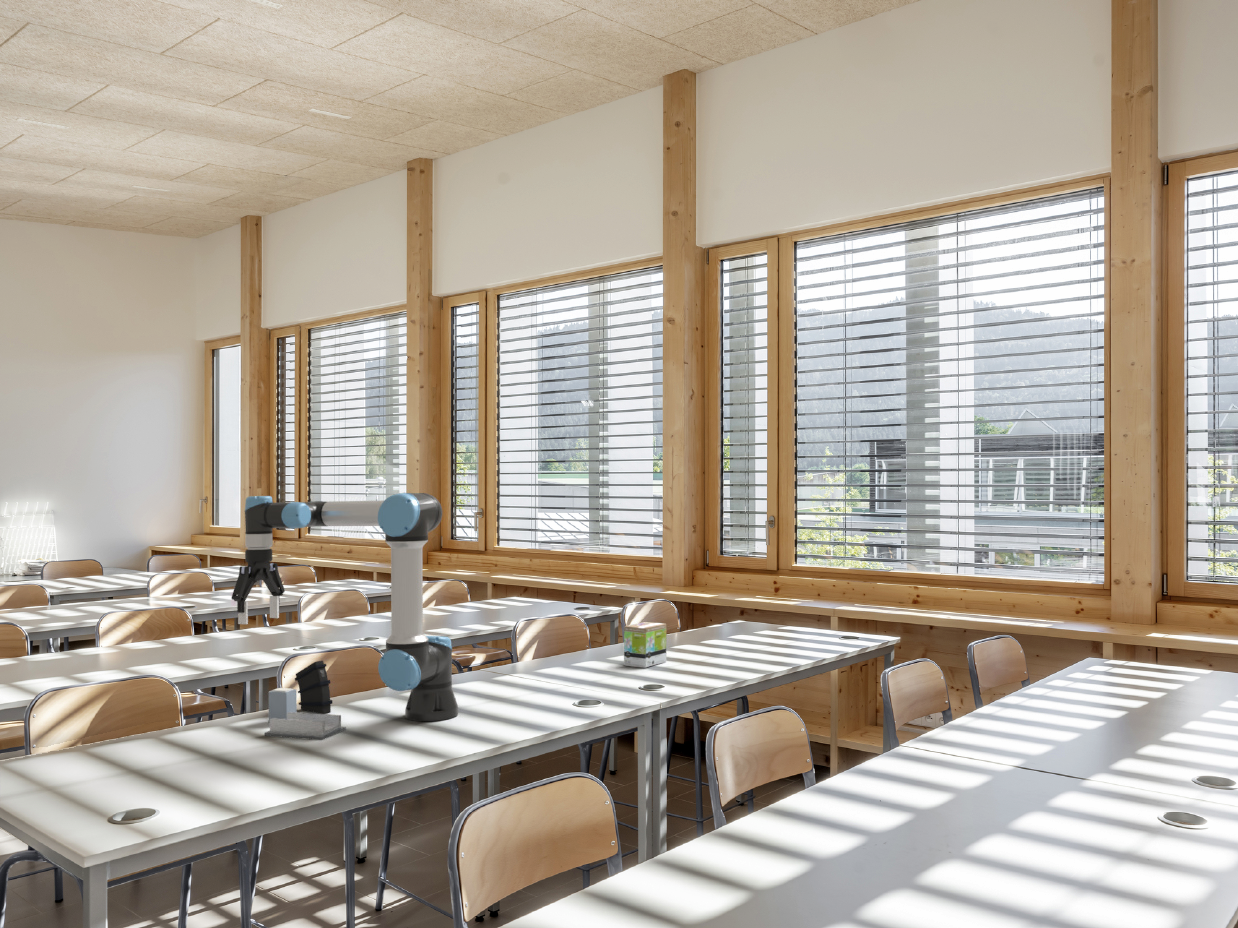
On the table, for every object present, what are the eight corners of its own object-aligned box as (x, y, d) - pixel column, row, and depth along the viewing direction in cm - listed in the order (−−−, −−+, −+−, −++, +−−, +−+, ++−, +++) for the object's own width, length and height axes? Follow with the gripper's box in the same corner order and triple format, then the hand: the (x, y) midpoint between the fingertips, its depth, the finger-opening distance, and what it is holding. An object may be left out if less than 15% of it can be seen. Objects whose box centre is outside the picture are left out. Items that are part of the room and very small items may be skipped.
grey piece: (345, 729, 264) (345, 713, 264) (322, 739, 254) (322, 723, 254) (289, 725, 270) (289, 710, 270) (264, 735, 259) (264, 719, 259)
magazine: (328, 710, 281) (314, 661, 285) (303, 724, 288) (290, 676, 292) (339, 707, 284) (325, 659, 288) (314, 721, 291) (300, 674, 295)
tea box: (646, 668, 349) (646, 627, 350) (623, 666, 355) (622, 625, 355) (667, 661, 362) (666, 622, 362) (644, 659, 367) (644, 620, 368)
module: (296, 720, 276) (296, 688, 276) (286, 724, 271) (286, 691, 272) (278, 719, 277) (278, 687, 278) (268, 723, 273) (268, 690, 273)
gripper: (276, 545, 296) (276, 614, 295) (218, 550, 272) (218, 626, 272) (296, 545, 294) (296, 615, 293) (239, 551, 270) (240, 627, 269)
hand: (259, 620), depth 282 cm, fingers open, 13 cm apart
